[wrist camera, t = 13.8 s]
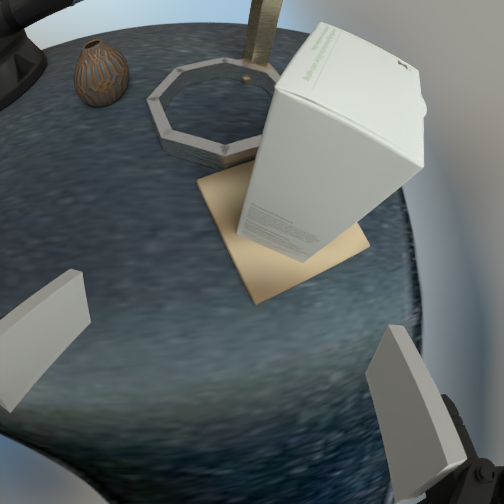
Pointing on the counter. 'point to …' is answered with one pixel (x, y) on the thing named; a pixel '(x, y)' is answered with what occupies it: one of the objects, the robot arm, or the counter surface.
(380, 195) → the skincare box
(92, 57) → the vase
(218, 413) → the counter surface
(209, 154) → the holder ring
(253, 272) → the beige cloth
